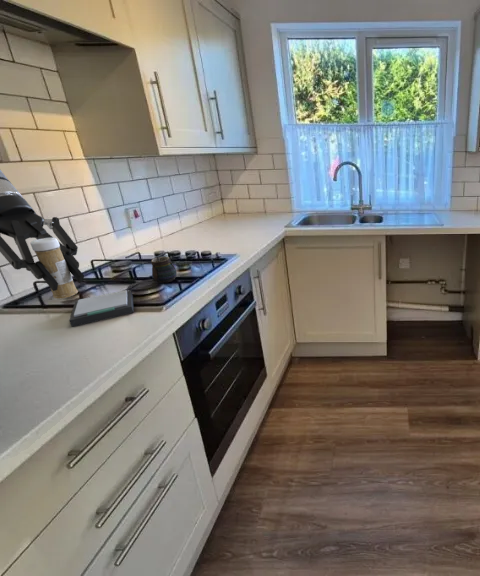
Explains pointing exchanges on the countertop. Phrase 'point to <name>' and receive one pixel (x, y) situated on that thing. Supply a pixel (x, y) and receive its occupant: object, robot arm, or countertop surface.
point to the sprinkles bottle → (55, 266)
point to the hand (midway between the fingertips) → (68, 283)
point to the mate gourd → (163, 270)
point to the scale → (101, 307)
